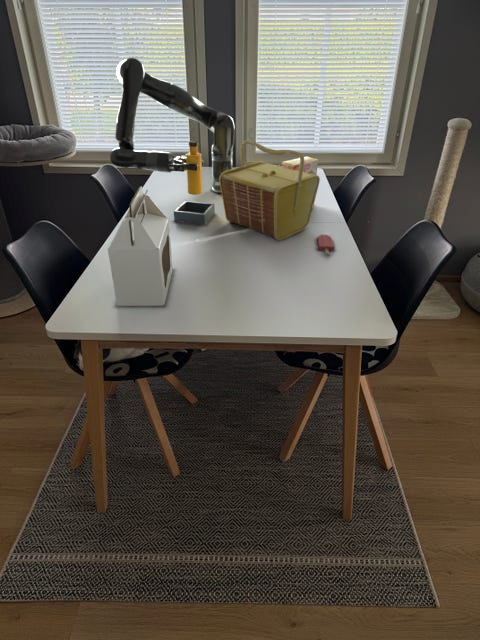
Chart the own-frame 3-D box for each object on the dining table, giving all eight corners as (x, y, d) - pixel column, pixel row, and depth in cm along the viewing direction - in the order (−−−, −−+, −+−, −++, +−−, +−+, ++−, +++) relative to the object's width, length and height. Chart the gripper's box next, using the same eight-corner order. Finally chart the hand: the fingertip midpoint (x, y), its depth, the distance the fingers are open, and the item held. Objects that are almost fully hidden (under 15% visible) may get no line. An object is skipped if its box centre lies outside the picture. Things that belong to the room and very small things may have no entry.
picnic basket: (317, 227, 175) (326, 146, 158) (275, 247, 159) (280, 160, 143) (260, 208, 191) (263, 134, 175) (217, 225, 176) (215, 144, 159)
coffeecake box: (290, 213, 187) (294, 165, 177) (278, 208, 192) (281, 161, 181) (314, 205, 196) (319, 159, 185) (301, 201, 200) (306, 155, 189)
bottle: (198, 189, 184) (196, 139, 173) (204, 193, 180) (203, 142, 169) (185, 191, 182) (183, 140, 171) (191, 195, 178) (189, 144, 167)
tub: (185, 211, 188) (185, 200, 185) (214, 214, 185) (214, 203, 182) (174, 222, 178) (173, 211, 175) (204, 225, 175) (204, 214, 172)
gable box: (164, 306, 126) (154, 210, 110) (116, 306, 125) (100, 209, 110) (172, 269, 144) (165, 182, 128) (131, 269, 144) (119, 182, 128)
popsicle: (320, 251, 153) (316, 234, 166) (319, 255, 154) (316, 238, 166) (335, 252, 153) (331, 234, 165) (335, 256, 154) (330, 238, 166)
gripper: (151, 156, 170) (193, 160, 166) (166, 147, 181) (206, 150, 178) (153, 176, 174) (194, 180, 171) (167, 166, 186) (206, 170, 182)
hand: (200, 165), depth 174 cm, fingers closed on bottle, 6 cm apart
